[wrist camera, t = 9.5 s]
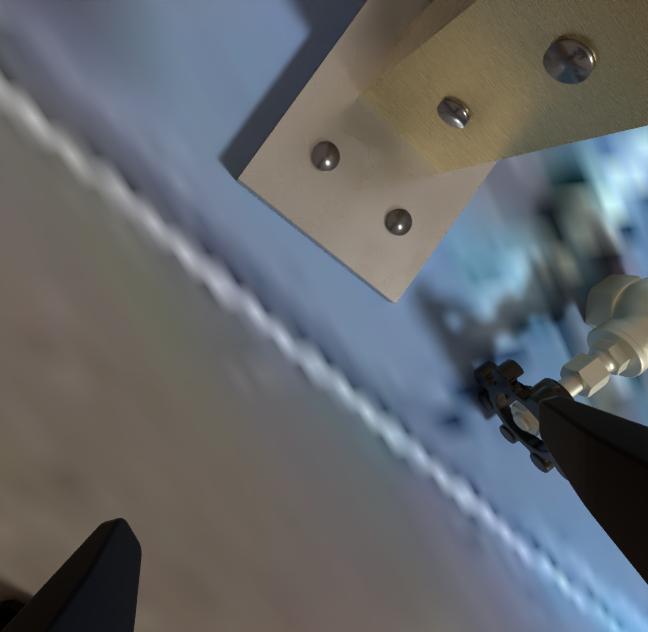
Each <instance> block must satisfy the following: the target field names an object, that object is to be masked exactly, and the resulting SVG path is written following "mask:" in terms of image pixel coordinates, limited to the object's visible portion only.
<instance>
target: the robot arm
mask: <svg viewBox="0 0 648 632" xmlns="http://www.w3.org/2000/svg"><path fill="white" fill-rule="evenodd" d="M538 416H539V432H540V436H541V438H542V440H543V442H544V444H545V445H546V447H547V448H548V450H549V452H550V453H551V455H552V456H553V458H554V459H555V461H556V462H557V464H558V465H559V467H560V469H561V470H562V472H563V473H564V475H565V476H566V478H567V479H568V481H569V482H570V484H571V486H572V487H573V489H574V490H575V492H576V493H577V495H578V496H579V498H580V499H581V501H582V502H583V504H584V505H585V506H586V508H587V509H588V510H589V512H590V513H591V514H592V516H593V517H594V518H595V519H596V521H597V522H598V523H599V524H600V526H601V527H602V528H603V529H604V531H605V532H606V533H607V534H608V536H609V537H610V538H611V539H612V541H613V542H614V543H615V544H616V546H617V547H618V548H619V549H620V551H621V552H622V553H623V554H624V556H625V557H626V558H627V559H628V561H629V562H630V563H631V564H632V566H633V567H634V568H635V569H636V571H637V572H638V573H639V574H640V575H641V577H642V578H643V579H644V580H645V582H646V583H647V584H648V427H647V426H645V425H642V424H639V423H636V422H633V421H630V420H628V419H625V418H622V417H619V416H616V415H613V414H611V413H608V412H605V411H602V410H599V409H597V408H594V407H591V406H588V405H585V404H582V403H580V402H577V401H574V400H571V399H568V398H565V397H563V396H553V397H549V398H546V399H542V400H541V401H540V402H539V404H538ZM141 555H142V553H141V546H140V543H139V541H138V540H137V538H136V536H135V535H134V533H133V531H132V530H131V528H130V526H129V524H128V523H127V521H126V520H125V519H123V518H117V519H113V520H110V521H106V522H104V523H102V524H101V525H100V526H98V528H97V529H96V530H95V531H94V532H93V533H92V534H91V535H90V536H89V537H88V538H87V539H86V540H85V542H84V543H83V544H82V545H81V546H80V547H79V548H78V549H77V550H76V551H75V552H74V553H73V554H72V556H71V557H70V558H69V559H68V560H67V561H66V562H65V563H64V564H63V565H62V566H61V567H60V569H59V570H58V571H57V572H56V573H55V574H54V575H53V576H52V577H51V578H50V579H49V580H48V581H47V583H46V584H45V585H44V586H43V587H42V588H41V589H40V590H39V591H38V592H37V593H36V594H35V595H34V597H33V598H32V599H31V600H30V601H29V602H28V603H27V604H26V605H25V606H24V605H22V604H21V603H19V602H18V601H15V600H5V601H2V602H1V603H0V632H134V624H135V615H136V605H137V595H138V586H139V576H140V566H141ZM4 612H8V613H10V615H4V614H3V613H4Z"/></svg>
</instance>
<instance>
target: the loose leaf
mask: <svg viewBox="0 0 648 632" xmlns="http://www.w3.org/2000/svg"><path fill="white" fill-rule="evenodd" d="M361 96H362V97H363V98H365V99H366V100H367V101H368V102H369V103H370V104H371V105H372V106H373V107H374V108H375V109H376V110H377V111H378V112H379V113H380V114H381V115H382V116H383V117H384V118H385V119H386V120H387V121H388V122H389V123H390V124H391V125H392V126H393V127H394V128H395V129H396V130H397V131H398V132H399V133H400V134H401V135H402V136H403V137H404V138H405V139H406V140H407V141H408V142H409V143H410V144H411V145H412V146H413V147H414V148H415V149H416V150H417V151H418V152H419V153H420V154H421V155H422V156H423V157H424V158H425V159H426V160H427V161H428V162H429V163H430V164H431V165H432V166H433V167H434V168H435V169H436V170H437V171H438V172H439V173H445V172H449V171H453V170H458V169H462V168H466V167H470V166H475V165H479V164H483V163H488V162H492V161H496V160H500V159H505V158H509V157H513V156H518V155H522V154H526V153H531V152H535V151H539V150H543V149H548V148H552V147H556V146H561V145H565V144H569V143H574V142H578V141H582V140H586V139H591V138H595V137H599V136H604V135H608V134H612V133H616V132H621V131H625V130H629V129H634V128H638V127H642V126H647V125H648V0H435V1H434V2H433V3H431V4H430V5H429V6H428V7H427V8H426V9H425V10H424V11H423V12H422V13H421V14H420V15H419V16H418V17H417V18H416V19H415V20H414V21H413V23H412V24H411V26H410V27H409V28H408V30H407V31H406V32H405V34H404V35H403V37H402V38H401V39H400V41H399V42H398V44H397V45H396V46H395V48H394V49H393V50H392V52H391V53H390V55H389V56H388V57H387V59H386V60H385V62H384V63H383V64H382V66H381V67H380V68H379V70H378V71H377V73H376V74H375V75H374V77H373V78H372V80H371V81H370V82H369V84H368V85H367V86H366V88H365V89H364V91H363V92H362V93H361Z"/></svg>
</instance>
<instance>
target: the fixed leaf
mask: <svg viewBox="0 0 648 632" xmlns="http://www.w3.org/2000/svg"><path fill="white" fill-rule="evenodd" d="M434 1H435V0H367V1H366V3H365V4H364V5H363V7H362V8H361V10H360V11H359V12H358V14H357V15H356V16H355V18H354V19H353V21H352V22H351V23H350V25H349V26H348V27H347V29H346V30H345V32H344V33H343V34H342V36H341V37H340V38H339V40H338V41H337V43H336V44H335V45H334V47H333V48H332V49H331V51H330V52H329V54H328V55H327V56H326V58H325V59H324V60H323V62H322V63H321V65H320V66H319V67H318V69H317V70H316V71H315V73H314V74H313V76H312V77H311V78H310V80H309V81H308V82H307V84H306V85H305V87H304V88H303V89H302V91H301V92H300V93H299V95H298V96H297V98H296V99H295V100H294V102H293V103H292V104H291V106H290V107H289V109H288V110H287V111H286V113H285V114H284V115H283V117H282V118H281V120H280V121H279V122H278V124H277V125H276V126H275V128H274V129H273V131H272V132H271V133H270V135H269V136H268V137H267V139H266V140H265V142H264V143H263V144H262V146H261V147H260V148H259V150H258V151H257V153H256V154H255V155H254V157H253V158H252V159H251V161H250V162H249V164H248V165H247V166H246V168H245V169H244V170H243V172H242V173H241V175H240V176H239V177H238V179H237V180H236V182H238V183H239V184H240V185H242V186H243V187H244V188H245V189H247V190H248V191H249V192H250V193H252V194H253V195H254V196H255V197H257V198H258V199H259V200H260V201H262V202H263V203H264V204H265V205H267V206H268V207H269V208H270V209H272V210H273V211H274V212H275V213H277V214H278V215H279V216H281V217H282V218H283V219H284V220H286V221H287V222H288V223H289V224H291V225H292V226H293V227H294V228H296V229H297V230H298V231H299V232H301V233H302V234H303V235H304V236H306V237H307V238H308V239H309V240H311V241H312V242H313V243H315V244H316V245H317V246H318V247H320V248H321V249H322V250H323V251H325V252H326V253H327V254H328V255H330V256H331V257H332V258H333V259H335V260H336V261H337V262H338V263H340V264H341V265H342V266H343V267H345V268H346V269H347V270H348V271H350V272H351V273H352V274H354V275H355V276H356V277H357V278H359V279H360V280H361V281H362V282H364V283H365V284H366V285H367V286H369V287H370V288H371V289H372V290H374V291H375V292H376V293H377V294H379V295H380V296H381V297H382V298H384V299H385V300H386V301H388V302H391V303H394V304H396V303H397V301H398V300H399V299H400V297H401V296H402V294H403V293H404V292H405V290H406V289H407V287H408V286H409V285H410V283H411V282H412V280H413V279H414V278H415V276H416V275H417V273H418V272H419V271H420V269H421V268H422V266H423V265H424V264H425V262H426V261H427V259H428V258H429V257H430V255H431V254H432V252H433V251H434V250H435V248H436V247H437V245H438V244H439V243H440V241H441V240H442V238H443V237H444V236H445V234H446V233H447V231H448V230H449V228H450V227H451V226H452V224H453V223H454V221H455V220H456V219H457V217H458V216H459V214H460V213H461V212H462V210H463V209H464V207H465V206H466V205H467V203H468V202H469V200H470V199H471V198H472V196H473V195H474V193H475V192H476V191H477V189H478V188H479V186H480V185H481V184H482V182H483V181H484V179H485V178H486V177H487V175H488V174H489V172H490V171H491V170H492V168H493V167H494V165H495V164H496V163H497V161H498V160H496V161H492V162H488V163H483V164H479V165H475V166H470V167H466V168H462V169H458V170H453V171H449V172H445V173H439V172H438V171H437V170H436V169H435V168H434V167H433V166H432V165H431V164H430V163H429V162H428V161H427V160H426V159H425V158H424V157H423V156H422V155H421V154H420V153H419V152H418V151H417V150H416V149H415V148H414V147H413V146H412V145H411V144H410V143H409V142H408V141H407V140H406V139H405V138H404V137H403V136H402V135H401V134H400V133H399V132H398V131H397V130H396V129H395V128H394V127H393V126H392V125H391V124H390V123H389V122H388V121H387V120H386V119H385V118H384V117H383V116H382V115H381V114H380V113H379V112H378V111H377V110H376V109H375V108H374V107H373V106H372V105H371V104H370V103H369V102H368V101H367V100H366V99H365V98H363V97H362V96H361V93H362V92H363V91H364V89H365V88H366V86H367V85H368V84H369V82H370V81H371V80H372V78H373V77H374V75H375V74H376V73H377V71H378V70H379V68H380V67H381V66H382V64H383V63H384V62H385V60H386V59H387V57H388V56H389V55H390V53H391V52H392V50H393V49H394V48H395V46H396V45H397V44H398V42H399V41H400V39H401V38H402V37H403V35H404V34H405V32H406V31H407V30H408V28H409V27H410V26H411V24H412V23H413V21H414V20H415V19H416V18H417V17H418V16H419V15H420V14H421V13H422V12H423V11H424V10H425V9H426V8H427V7H428V6H429V5H430V4H431V3H433V2H434Z"/></svg>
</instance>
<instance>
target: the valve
mask: <svg viewBox="0 0 648 632" xmlns="http://www.w3.org/2000/svg"><path fill="white" fill-rule="evenodd" d="M585 323H586V324H587V325H588V326H590V327H591V328H593V330H592V331H590V332H589V334H588V337H587V343H588V346H589V348H590V349H589V352H588V354H585V353H580V354H578V355H577V356H575V357H574V358H573V359H571V360H570V361H569V362H567V363H566V364H565V365H563V367H562V369H561V372H560V376H561V378H562V379H560V380H559V381H558V382H557V381H555V380H553V379H550V378H544V379H543V380H541V381H540V382H539V383H537V384H536V385H534V386H533V387H532V386H526V385H523V384H522V383H520V382H518V381H517V378H518V377H519V376H520V375H522V374H523V373H524V371H523V369H522V368H521V367H520V365H519V364H518V363H516V362H515V361H513V360H511V359H507V360H506V361H505V362H503V363H502V364H500V365H499V366H498V367H497V365H495V364H494V363H493V362H491V361H487V362H486V363H484V364H483V365H482V366H480V367H479V368H477V369H476V370H475V371H474V373H473V374H474V377H475V379H476V380H477V382H478V383H479V384H480V385H481V386H482V387H484V388H486V389H484V390H483V391H481V392H480V393H479V394H478V399H479V401H480V403H481V404H482V405H483V406H484V407H485V408H486V409H487V410H489V411H492V410H493V411H494V412H495V413H496V414H497V415H498V416H499V418H500V419H501V421H502V422H503V424H502V425H501V426H500V427H499V429H500V432H501V433H502V435H503V436H504V437H505V438H506V439H507V440H508V441H509V442H510V443H513V444H514V443H516V442H517V441H520V442H521V443H522V444H523V445H524V446H525V447H526V448H527V449H528V450H529V451H530V453H531V454H530V458H531V460H532V462H533V463H534V465H535V466H536V467H537V468H538V469H539V470H541V471H542V472H545V473H547V472H549V471H550V470H551V469H553V468H554V467H556V469H557V471H558V472H559V473H560V474H561V475H562V476H563V477H564V478H565V479H566V480H568V479H567V478H566V476H565V475H564V473H563V472H562V470H561V469H560V467H559V465H558V464H557V462H556V461H555V459H554V458H553V456H552V455H551V453H550V452H549V450H548V448H547V447H546V445H545V444H544V442H543V441H542V440H540V439H539V438H537V437H536V436H537V435H538V434H540V432H539V416H538V404H539V402H540V401H541V400H542V399H546V398H549V397H553V396H563V397H565V398H568V399H571V400H574V399H573V397H574V396H575V395H577V394H578V395H581V396H584V397H590V396H591V395H592V394H594V393H595V392H596V391H598V390H599V389H600V388H602V387H603V386H604V385H605V384H607V382H608V379H609V377H610V374H612V375H621V376H624V377H636V376H638V375H640V374H641V373H642V372H644V371H645V370H646V369H647V368H648V277H647V278H644V279H641V278H640V277H639V276H633V275H623V274H611V275H610V276H608V277H607V278H605V279H604V280H603V281H601V282H600V283H598V284H597V285H596V286H594V287H593V288H591V289H590V290H589V292H588V298H587V307H586V315H585ZM516 400H517V402H515V401H516ZM513 402H515V403H514V404H513V405H512V408H510V407H509V405H511V404H512V403H513ZM535 435H536V436H535Z"/></svg>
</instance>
